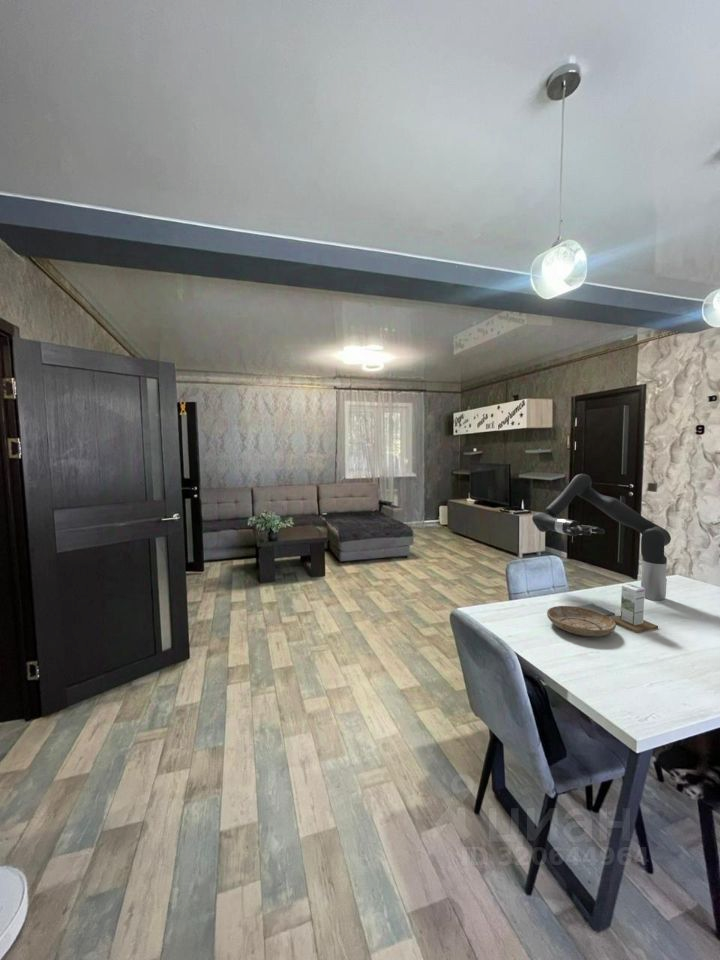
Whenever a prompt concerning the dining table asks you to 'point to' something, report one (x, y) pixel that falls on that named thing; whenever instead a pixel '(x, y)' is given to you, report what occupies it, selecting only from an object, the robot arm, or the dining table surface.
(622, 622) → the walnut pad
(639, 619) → the syrup box
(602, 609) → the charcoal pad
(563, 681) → the dining table surface
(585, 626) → the ceramic bowl
